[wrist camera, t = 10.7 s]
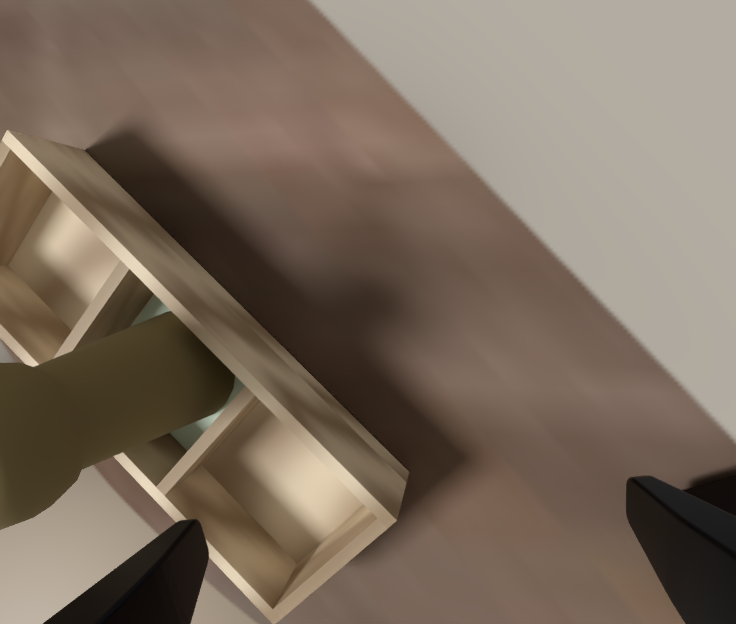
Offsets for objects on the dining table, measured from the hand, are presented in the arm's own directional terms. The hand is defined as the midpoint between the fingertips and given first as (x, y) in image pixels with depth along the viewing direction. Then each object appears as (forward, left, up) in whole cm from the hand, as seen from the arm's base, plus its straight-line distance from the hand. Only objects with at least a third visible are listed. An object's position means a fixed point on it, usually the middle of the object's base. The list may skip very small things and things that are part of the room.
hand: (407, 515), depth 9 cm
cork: (+6, +12, -11) cm, 17 cm away
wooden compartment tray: (+6, +12, -12) cm, 18 cm away
